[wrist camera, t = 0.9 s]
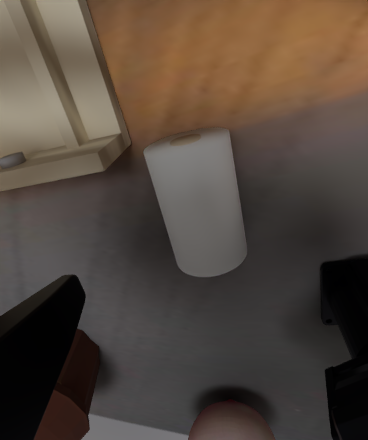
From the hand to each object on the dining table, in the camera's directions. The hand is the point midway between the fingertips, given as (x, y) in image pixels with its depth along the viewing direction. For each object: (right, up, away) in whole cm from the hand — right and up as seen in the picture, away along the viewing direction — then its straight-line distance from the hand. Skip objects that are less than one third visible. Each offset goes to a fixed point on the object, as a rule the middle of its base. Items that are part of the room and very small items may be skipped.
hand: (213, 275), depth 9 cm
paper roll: (0, +4, +12) cm, 12 cm away
